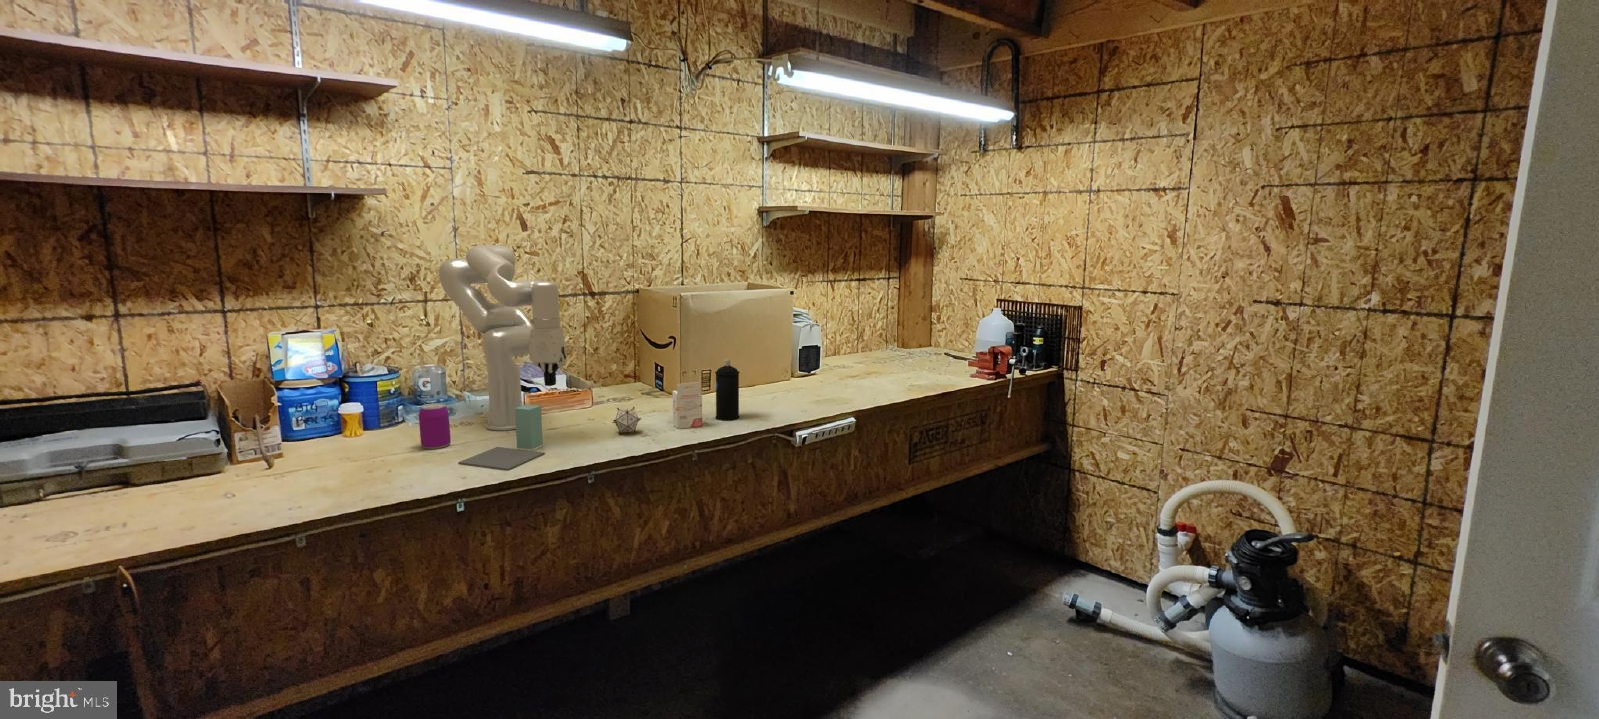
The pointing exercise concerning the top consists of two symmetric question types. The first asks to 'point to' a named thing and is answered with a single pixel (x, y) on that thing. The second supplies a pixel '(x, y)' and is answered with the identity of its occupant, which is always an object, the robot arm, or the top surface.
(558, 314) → the robot arm
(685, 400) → the ink cartridge box
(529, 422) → the teal block
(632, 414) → the game die
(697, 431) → the top surface
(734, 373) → the aerosol can
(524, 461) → the mat
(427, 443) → the beverage can
